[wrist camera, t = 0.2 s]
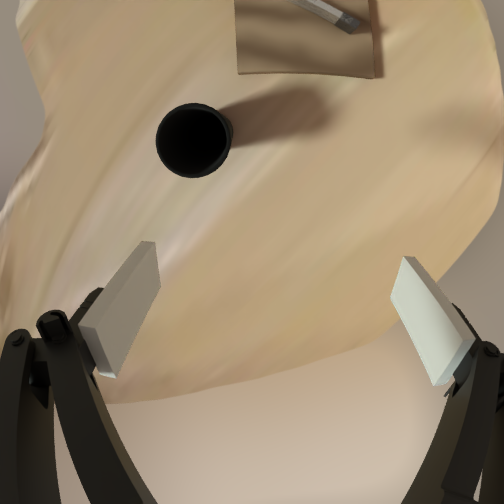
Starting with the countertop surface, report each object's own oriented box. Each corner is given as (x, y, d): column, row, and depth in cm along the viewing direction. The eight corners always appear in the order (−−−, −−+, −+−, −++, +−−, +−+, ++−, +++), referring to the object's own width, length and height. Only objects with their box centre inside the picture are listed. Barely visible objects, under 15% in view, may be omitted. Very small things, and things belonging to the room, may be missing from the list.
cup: (232, 99, 34) (218, 93, 24) (247, 150, 38) (240, 166, 27) (179, 115, 36) (146, 118, 25) (194, 165, 39) (168, 187, 28)
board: (234, -30, 25) (232, -36, 23) (358, -24, 23) (362, -29, 22) (239, 74, 33) (237, 72, 31) (369, 79, 32) (374, 77, 30)
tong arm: (265, -16, 24) (265, -25, 22) (353, 27, 27) (360, 21, 24) (260, -10, 25) (260, -18, 22) (349, 34, 27) (356, 29, 25)
